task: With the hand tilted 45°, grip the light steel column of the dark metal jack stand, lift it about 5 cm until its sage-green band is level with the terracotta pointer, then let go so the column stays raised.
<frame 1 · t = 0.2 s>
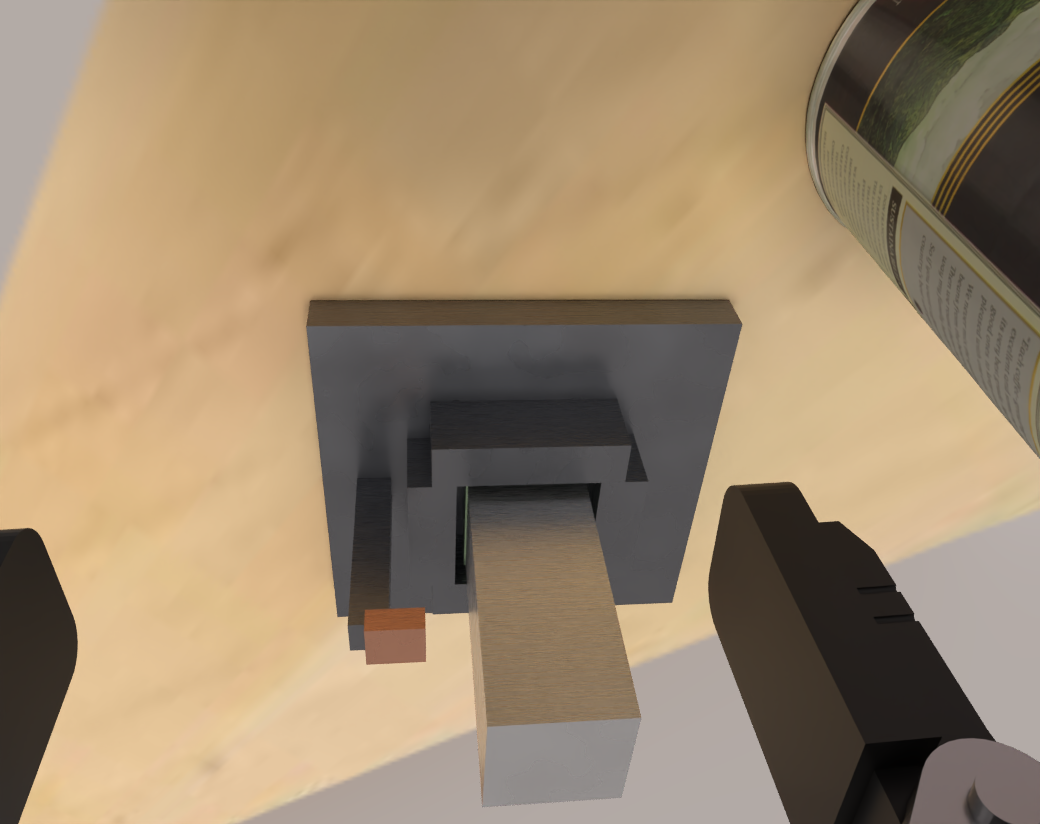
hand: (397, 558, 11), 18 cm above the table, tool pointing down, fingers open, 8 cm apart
coffee can: (965, 95, 27), on the table
steel column: (535, 606, 28), point 7 cm above the table, slide at 0.0 cm
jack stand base: (514, 459, 34), on the table
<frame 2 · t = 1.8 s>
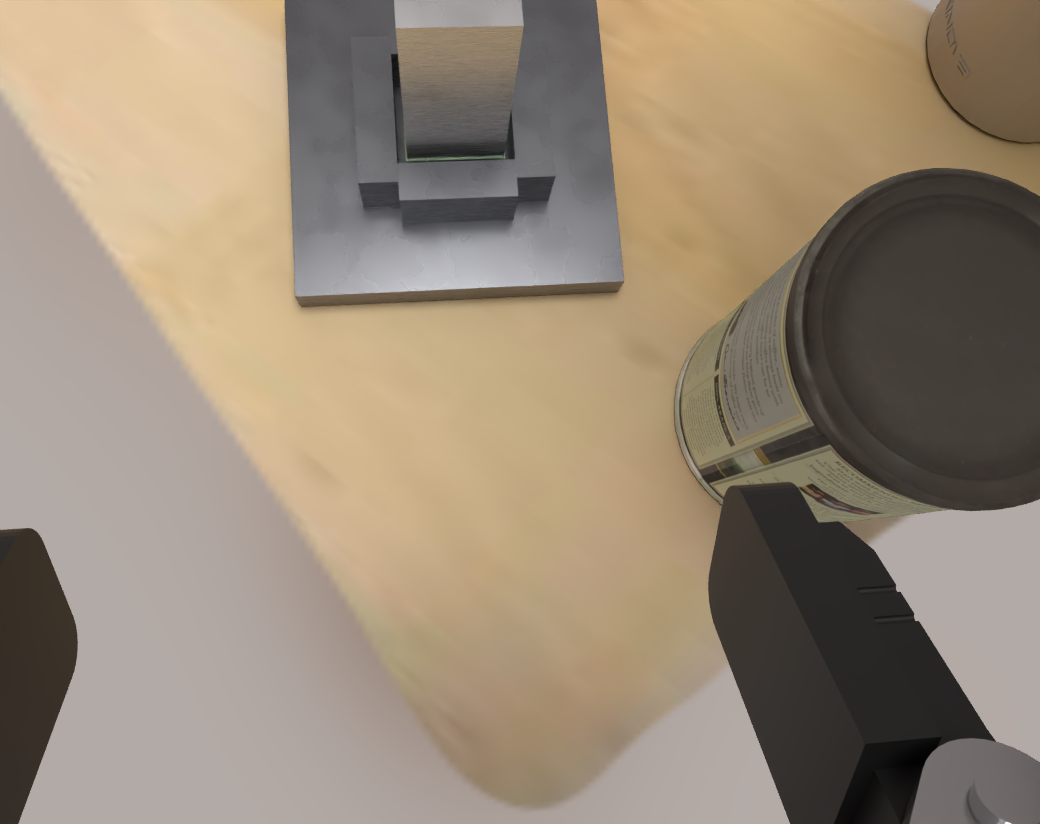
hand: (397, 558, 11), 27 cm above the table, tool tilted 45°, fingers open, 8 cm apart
coffee can: (781, 414, 40), on the table
steel column: (453, 64, 33), point 7 cm above the table, slide at 0.0 cm
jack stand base: (451, 151, 40), on the table
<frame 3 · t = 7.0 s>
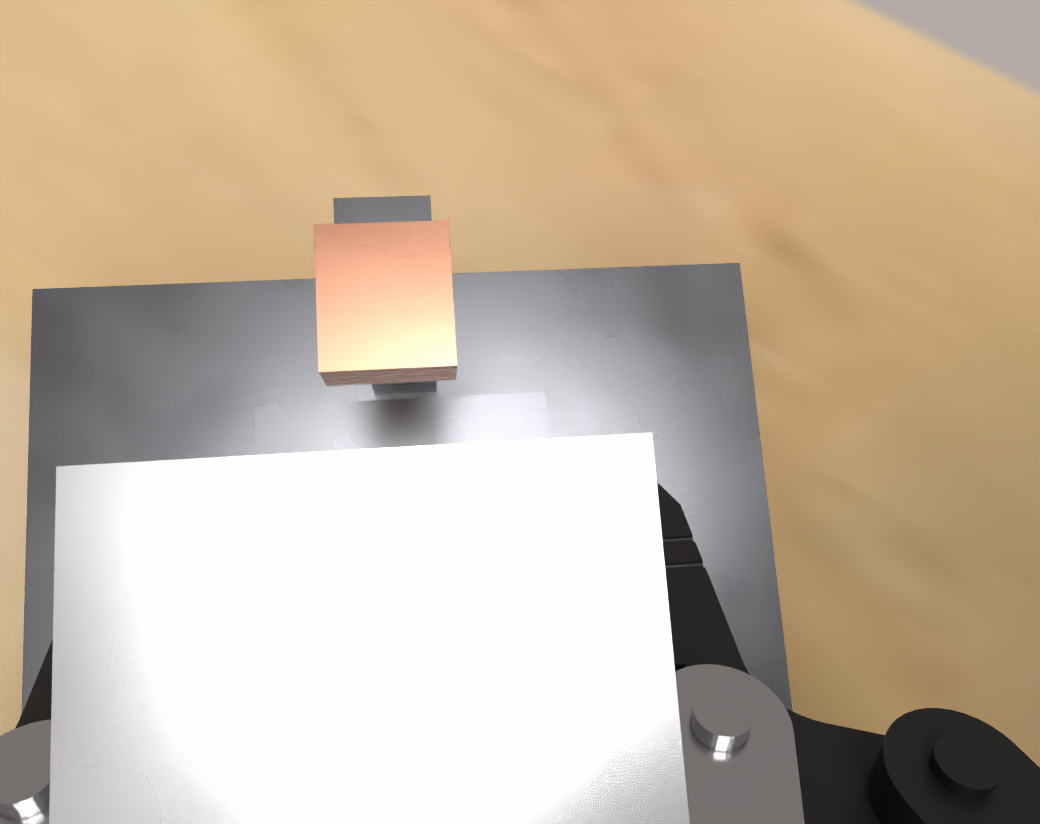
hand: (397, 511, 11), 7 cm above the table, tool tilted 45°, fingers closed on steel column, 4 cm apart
steel column: (406, 667, 11), point 7 cm above the table, slide at 0.0 cm, touching gripper
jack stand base: (419, 629, 18), on the table
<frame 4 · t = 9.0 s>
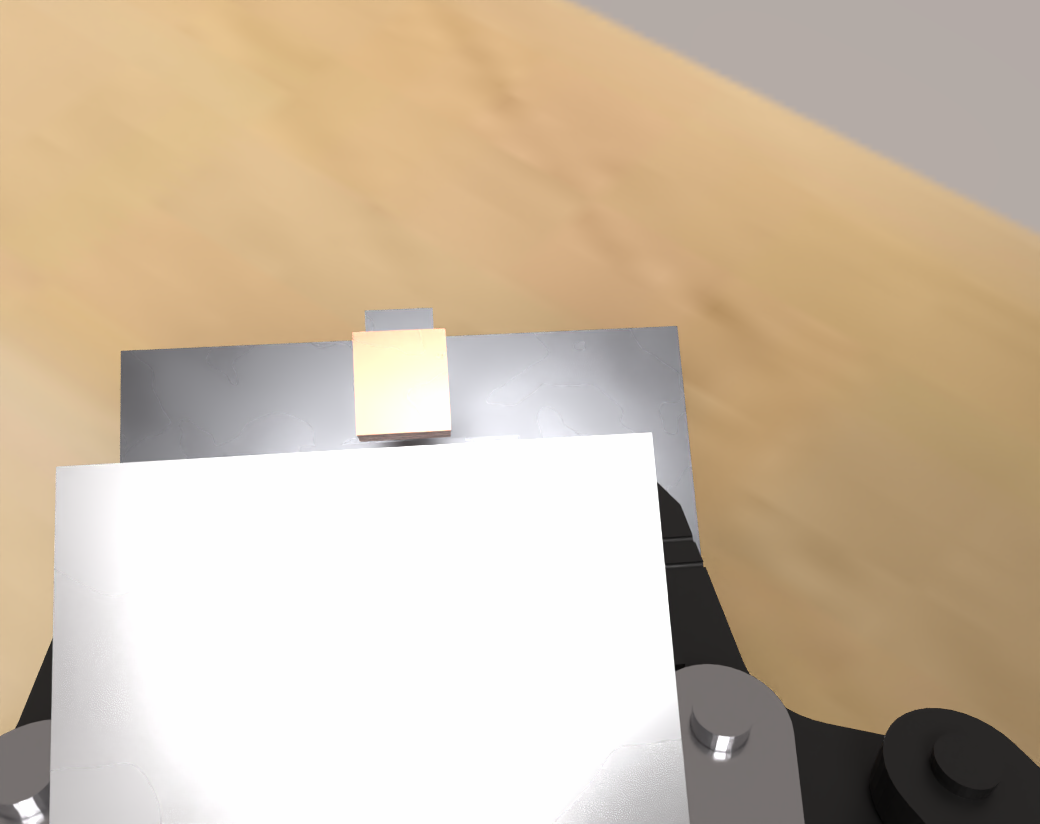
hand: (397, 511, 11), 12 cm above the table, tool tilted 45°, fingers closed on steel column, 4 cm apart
steel column: (406, 667, 11), point 12 cm above the table, slide at 4.8 cm, touching gripper
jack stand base: (423, 617, 23), on the table
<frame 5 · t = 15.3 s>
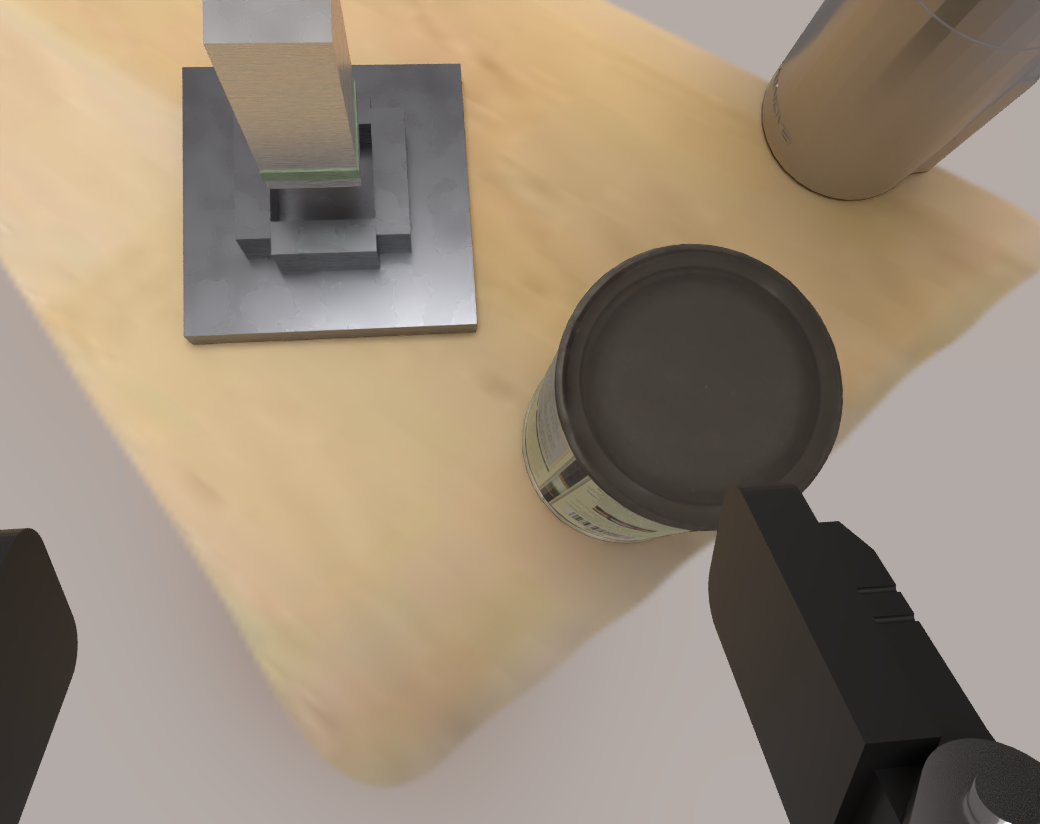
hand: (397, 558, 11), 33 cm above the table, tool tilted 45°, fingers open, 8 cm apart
coffee can: (620, 441, 45), on the table
steel column: (293, 78, 34), point 12 cm above the table, slide at 5.0 cm
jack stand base: (331, 206, 45), on the table
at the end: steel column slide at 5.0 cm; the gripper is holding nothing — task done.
